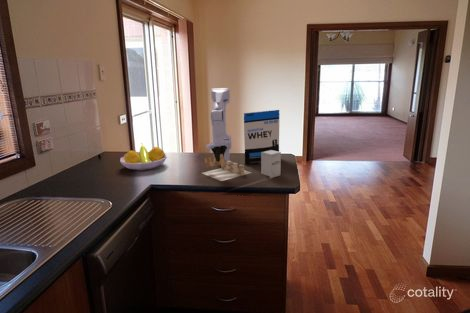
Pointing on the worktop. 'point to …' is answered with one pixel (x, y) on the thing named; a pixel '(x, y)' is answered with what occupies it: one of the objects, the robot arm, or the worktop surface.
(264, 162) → the supplement box
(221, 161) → the wooden block
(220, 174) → the halving base
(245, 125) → the protein powder
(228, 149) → the robot arm
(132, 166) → the fruit bowl
